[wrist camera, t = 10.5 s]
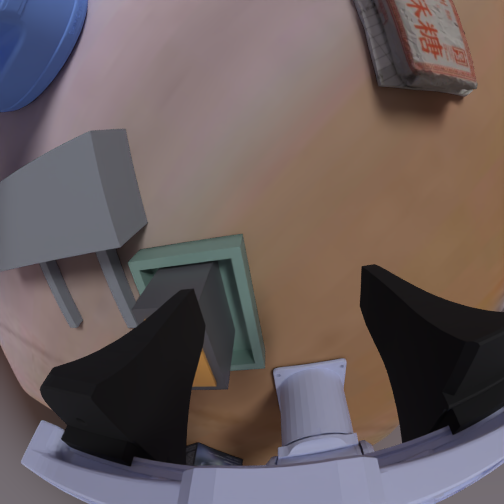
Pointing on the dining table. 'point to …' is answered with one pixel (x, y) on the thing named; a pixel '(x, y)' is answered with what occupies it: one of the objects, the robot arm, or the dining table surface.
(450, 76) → the packaged product
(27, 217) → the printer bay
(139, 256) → the tray
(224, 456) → the small box
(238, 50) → the dining table surface
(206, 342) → the grey block orange panel
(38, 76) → the water jug
